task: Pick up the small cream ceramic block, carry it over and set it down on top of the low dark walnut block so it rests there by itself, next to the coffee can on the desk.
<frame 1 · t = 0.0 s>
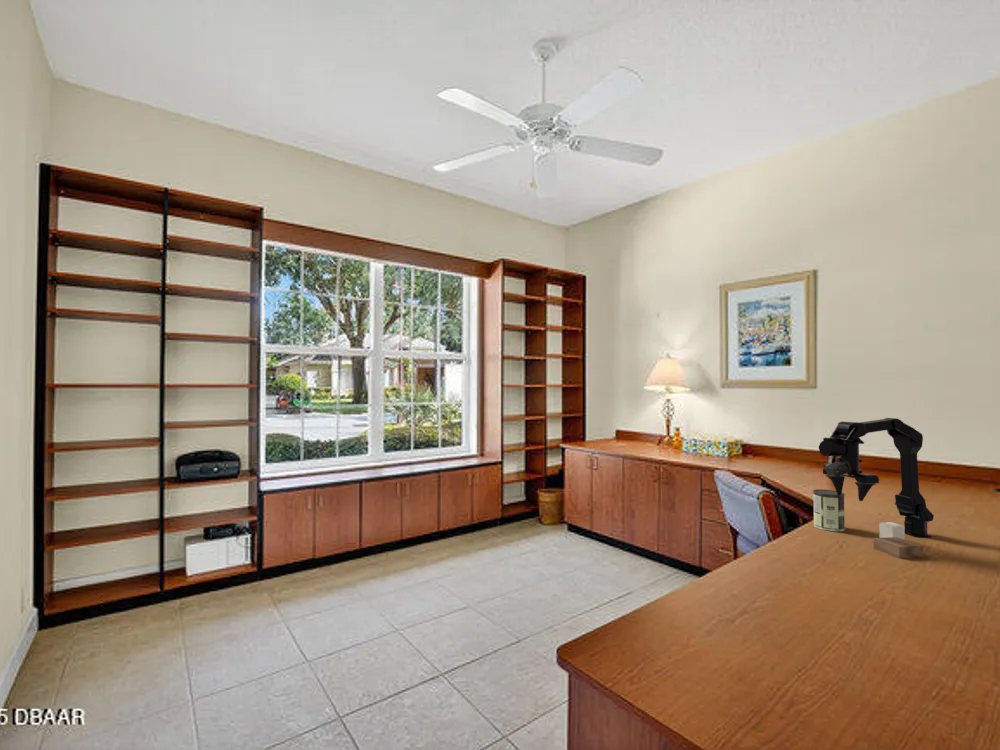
hand: (849, 497, 175), 15 cm above the table, fingers open, 9 cm apart
walnut block: (897, 553, 160), on the table
coffee can: (828, 528, 187), on the table
cream block: (892, 540, 172), on the table
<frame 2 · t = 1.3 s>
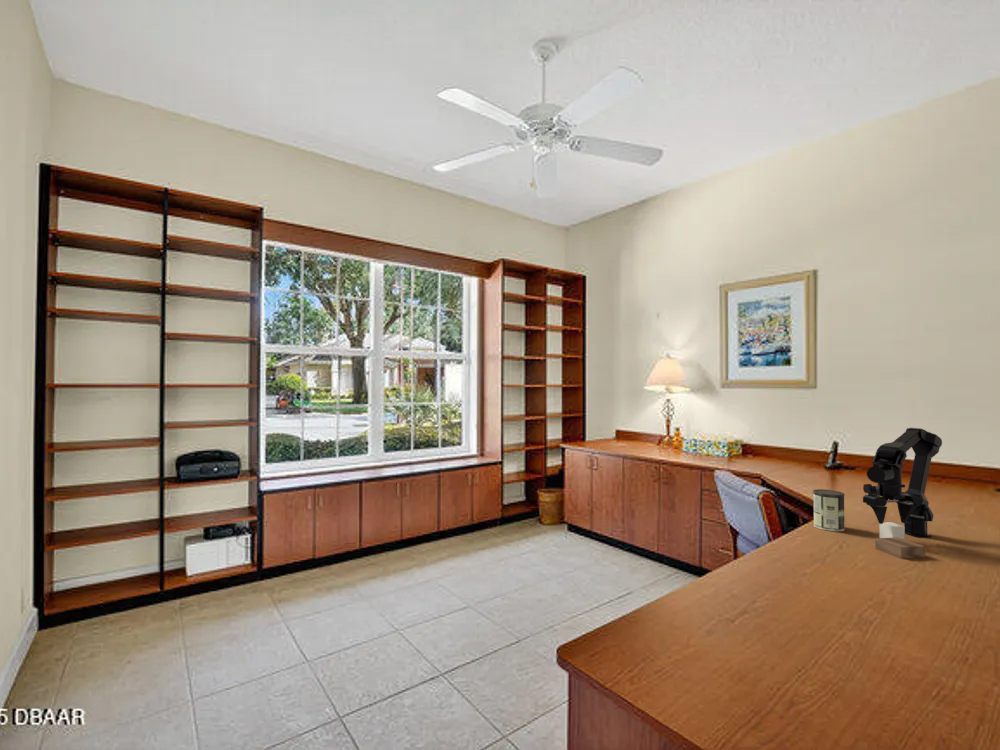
hand: (891, 523, 172), 6 cm above the table, fingers open, 9 cm apart
nothing on the table moved.
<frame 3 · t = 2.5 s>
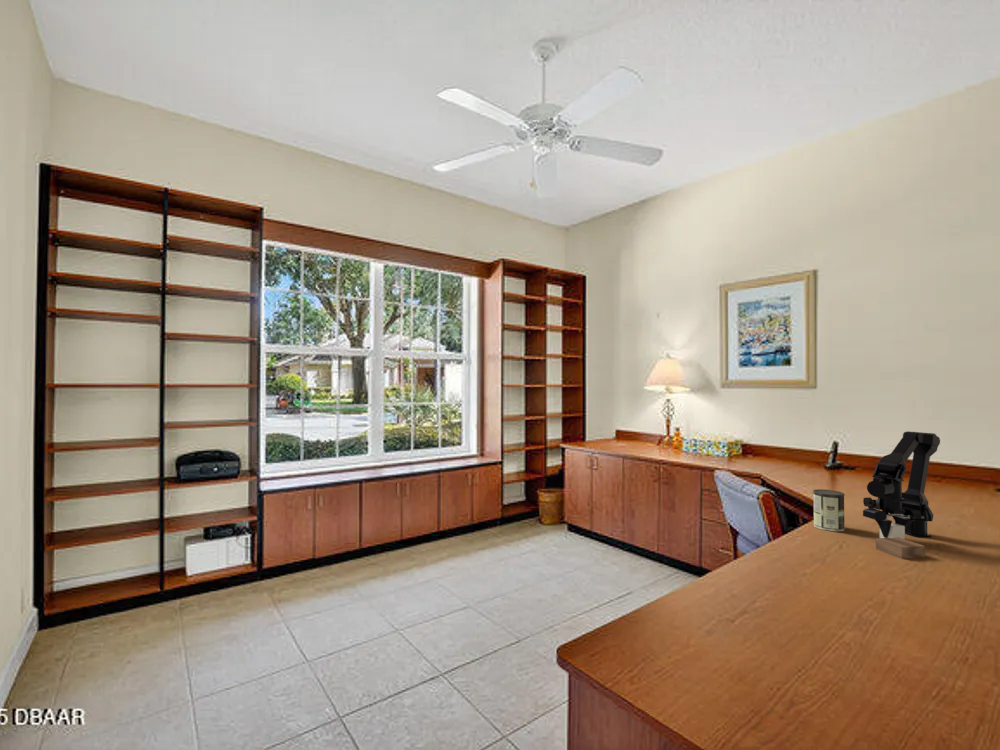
hand: (892, 537, 172), 1 cm above the table, fingers closed on cream block, 5 cm apart
cream block: (892, 540, 172), on the table, touching gripper
everything else where it was.
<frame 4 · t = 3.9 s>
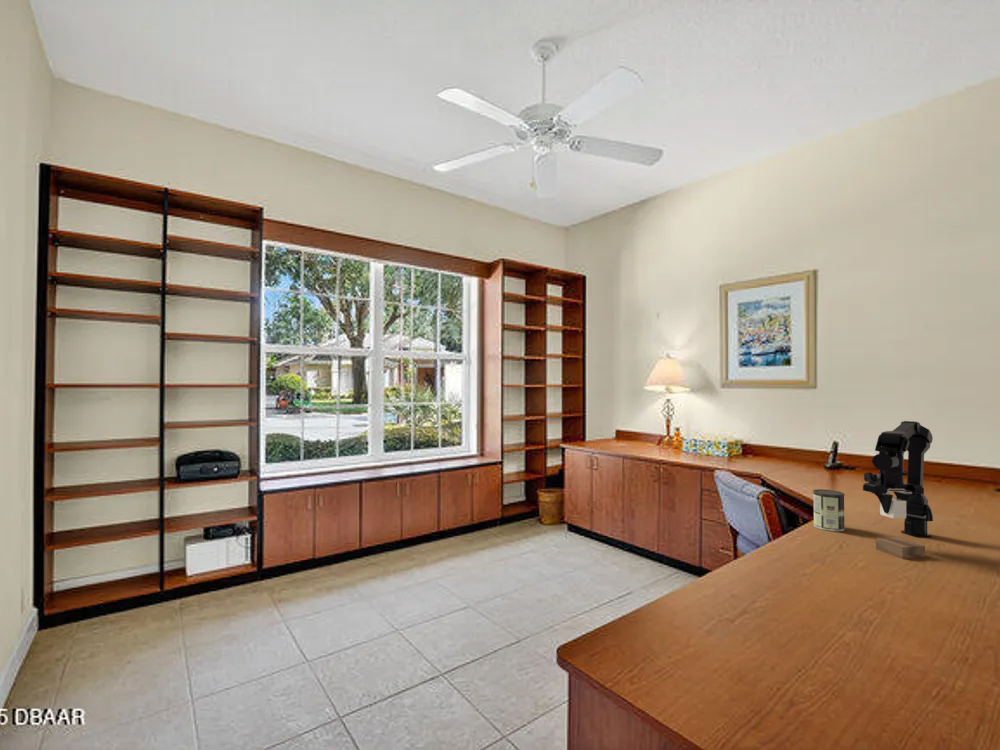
hand: (893, 512, 166), 12 cm above the table, fingers closed on cream block, 5 cm apart
cream block: (893, 516, 166), point 10 cm above the table, touching gripper
everything else where it was.
when the fingers open (7 cm above the table, at t = 5.4 s): cream block drops 2 cm, resting on walnut block.
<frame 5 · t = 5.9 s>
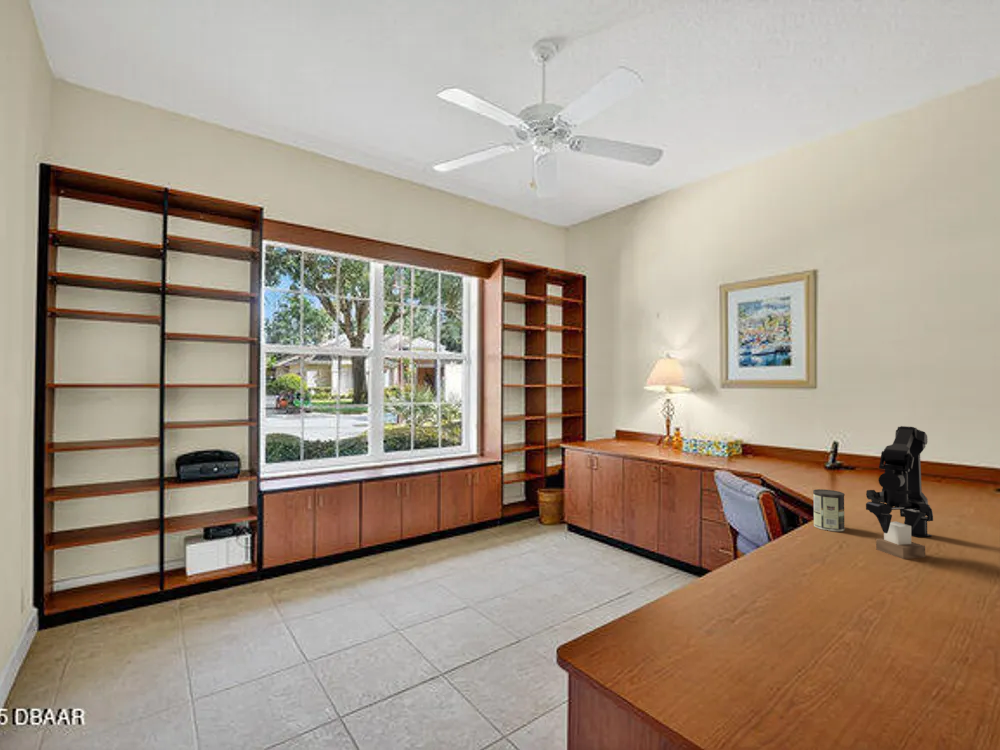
hand: (897, 532, 160), 7 cm above the table, fingers open, 9 cm apart
walnut block: (900, 554, 159), on the table, touching cream block
cream block: (897, 541, 160), point 4 cm above the table, touching walnut block
everything else where it was.
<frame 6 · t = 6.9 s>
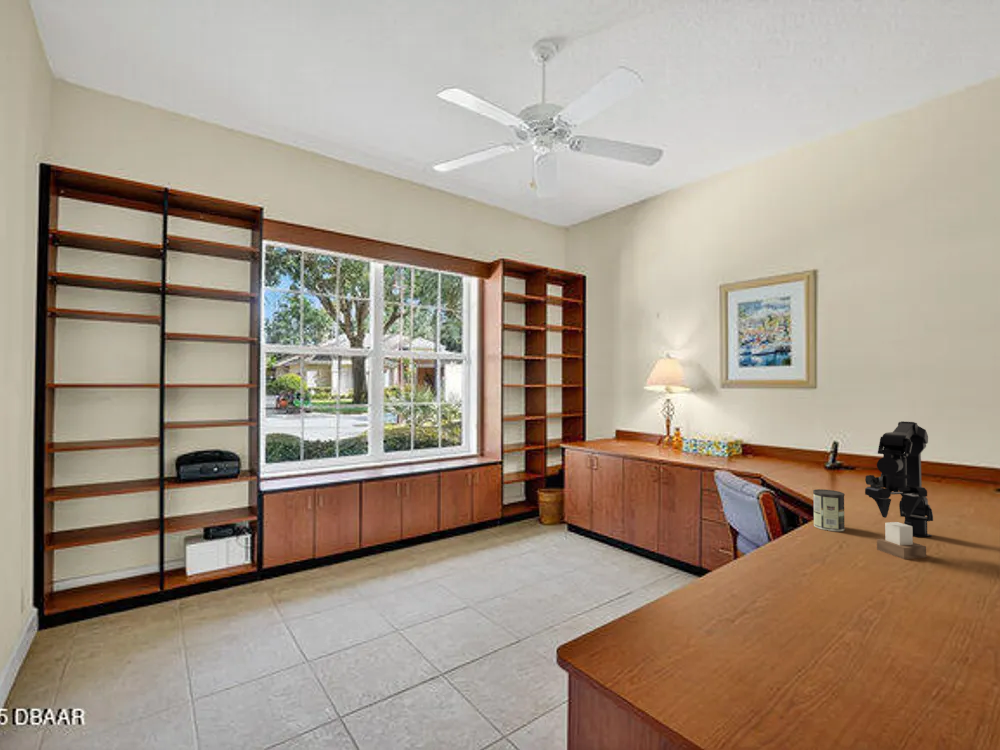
hand: (896, 516, 161), 12 cm above the table, fingers open, 9 cm apart
nothing on the table moved.
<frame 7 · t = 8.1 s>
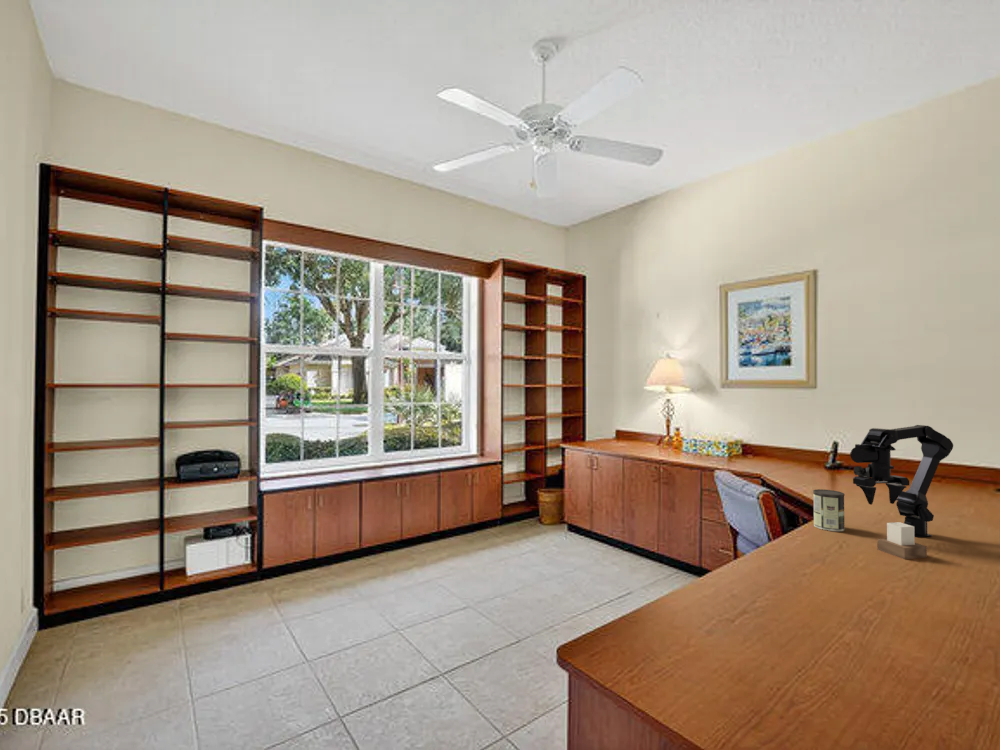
hand: (881, 503, 177), 12 cm above the table, fingers open, 9 cm apart
walnut block: (901, 554, 159), on the table
cream block: (900, 542, 159), point 4 cm above the table
everything else where it was.
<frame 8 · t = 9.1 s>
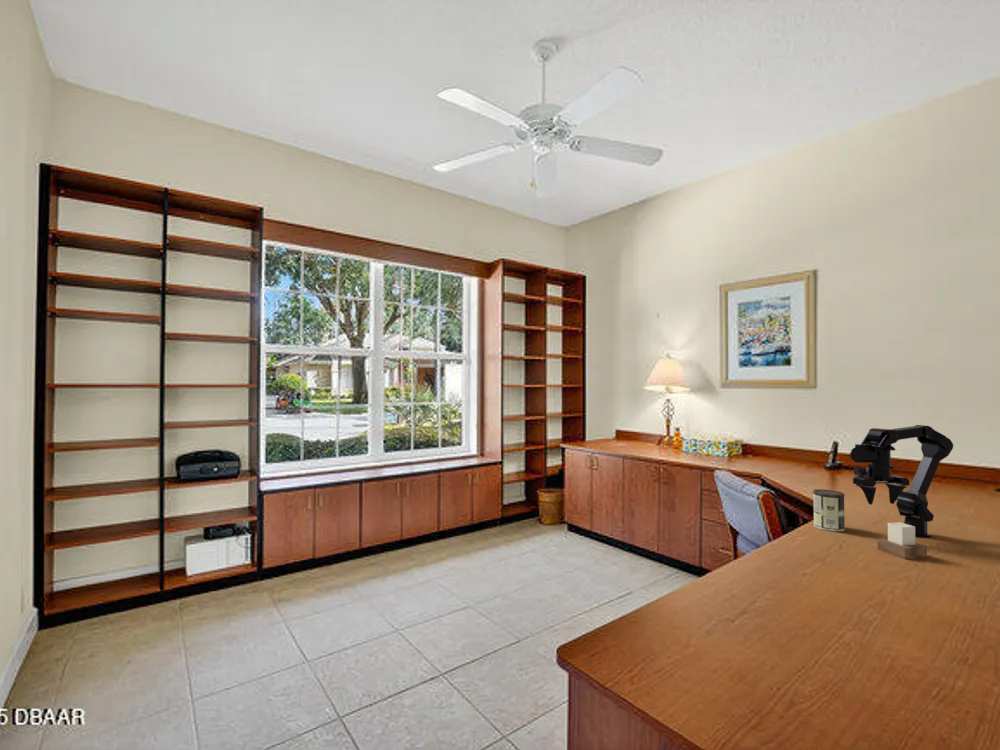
hand: (881, 503, 177), 12 cm above the table, fingers open, 9 cm apart
nothing on the table moved.
at the end: cream block 0.1 cm off-centre on the walnut block, point 4.0 cm above the walnut block's base; cream block touching nothing; the gripper is holding nothing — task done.
